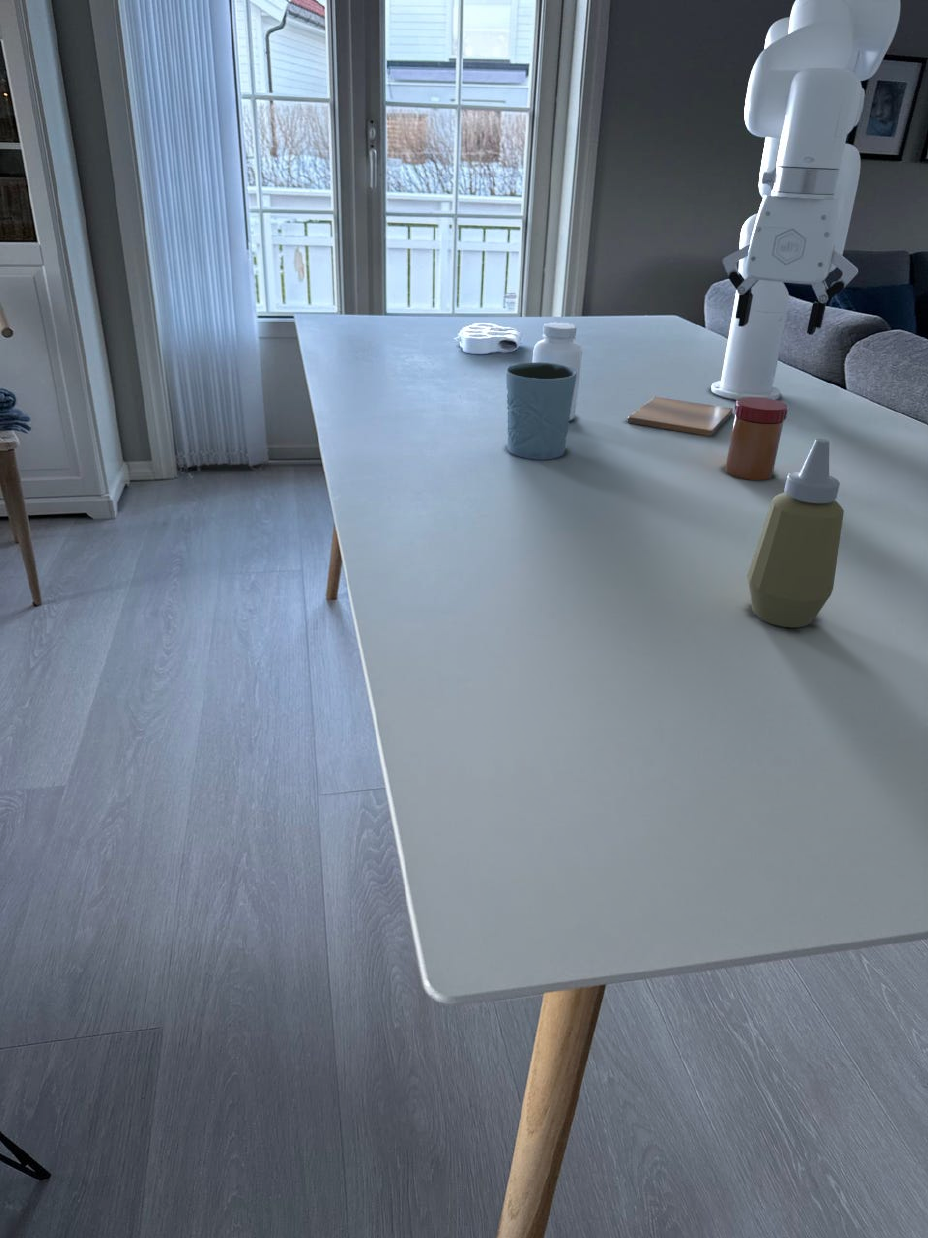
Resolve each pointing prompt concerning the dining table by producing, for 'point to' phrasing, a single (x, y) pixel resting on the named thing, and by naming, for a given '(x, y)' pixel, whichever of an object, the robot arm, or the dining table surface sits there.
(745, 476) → the jam jar
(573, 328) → the pill bottle
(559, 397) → the blue embossed cup
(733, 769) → the dining table surface
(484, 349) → the white flat molded block
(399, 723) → the dining table surface
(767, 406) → the jam lid
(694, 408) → the wooden board
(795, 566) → the squeeze bottle
